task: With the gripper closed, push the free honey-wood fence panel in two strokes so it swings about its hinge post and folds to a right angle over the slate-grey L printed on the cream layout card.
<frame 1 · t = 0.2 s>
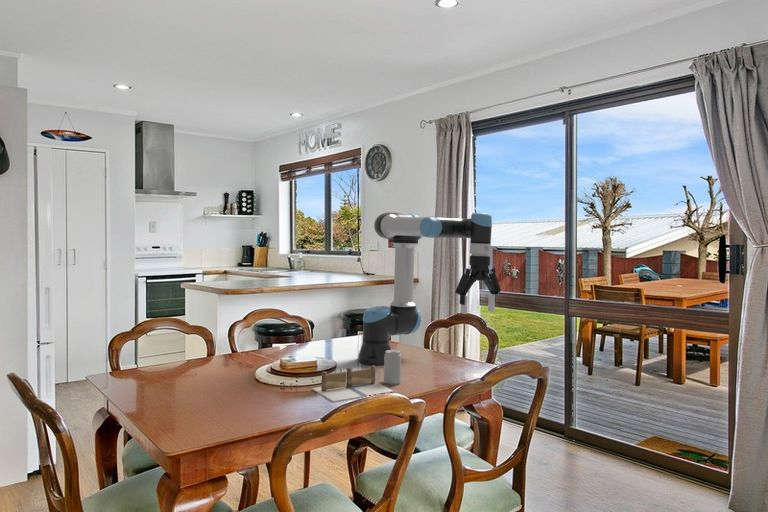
hand: (477, 312, 200), 28 cm above the table, fingers open, 13 cm apart
beverage can: (392, 383, 203), on the table
layout card: (353, 390, 192), on the table
fence panel: (333, 379, 191), point 4 cm above the table, hinge at 0.0°
fence fixed: (360, 386, 197), resting on layout card
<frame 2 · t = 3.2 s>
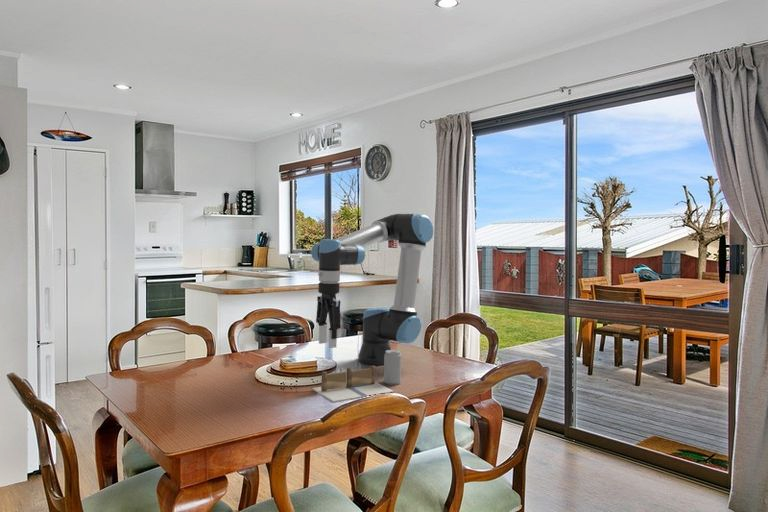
hand: (327, 345, 195), 15 cm above the table, fingers open, 7 cm apart
nothing on the table moved.
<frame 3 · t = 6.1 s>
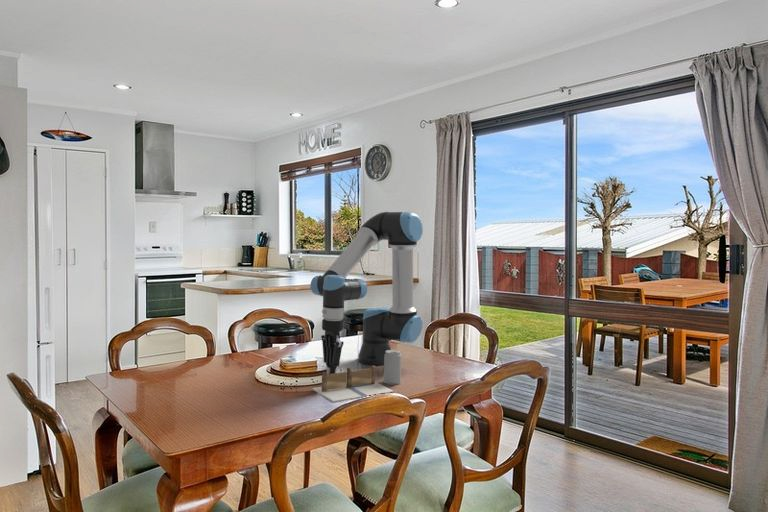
hand: (330, 384, 193), 2 cm above the table, fingers closed
fence panel: (334, 379, 191), point 4 cm above the table, hinge at 1.0°, touching gripper
everything else where it was.
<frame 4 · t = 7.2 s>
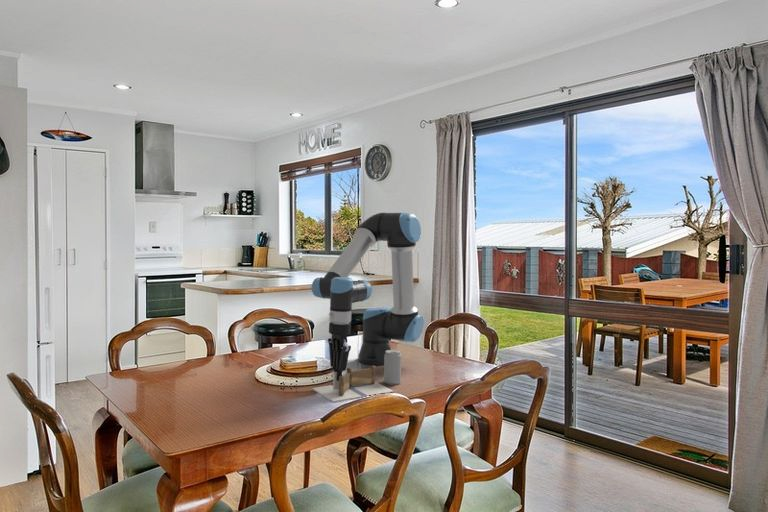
hand: (337, 388, 189), 2 cm above the table, fingers closed
fence panel: (344, 382, 188), point 4 cm above the table, hinge at 45.6°, touching gripper
everything else where it was.
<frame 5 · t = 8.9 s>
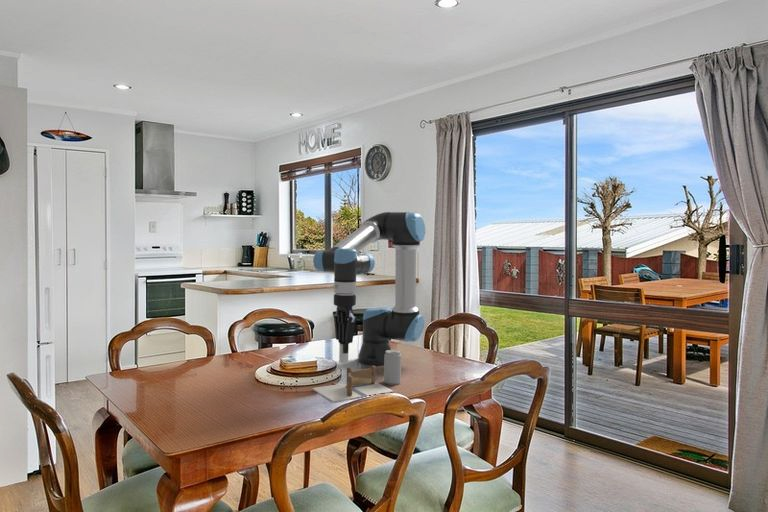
hand: (343, 361, 186), 12 cm above the table, fingers closed
fence panel: (349, 382, 188), point 4 cm above the table, hinge at 62.0°
everything else where it was.
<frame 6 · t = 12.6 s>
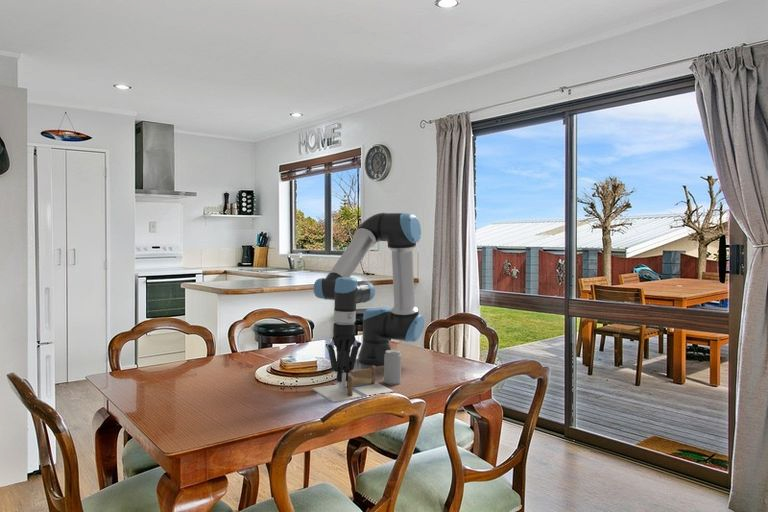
hand: (341, 390, 186), 2 cm above the table, fingers closed
fence panel: (349, 382, 188), point 4 cm above the table, hinge at 62.7°, touching gripper
everything else where it was.
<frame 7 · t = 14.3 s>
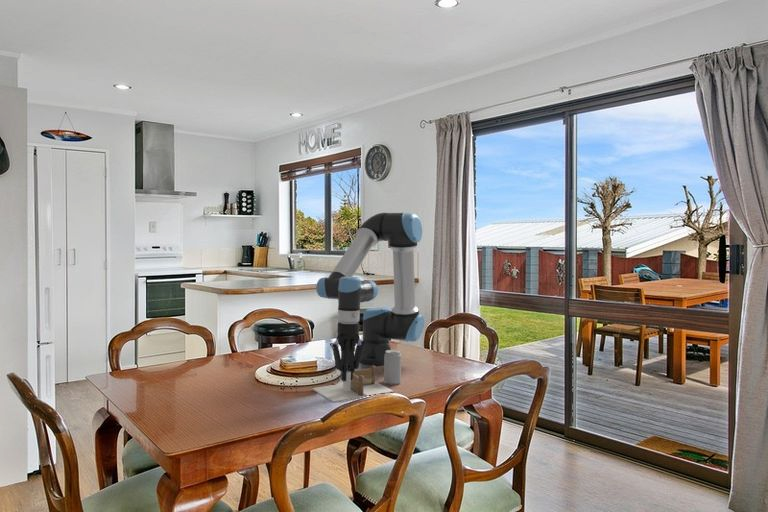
hand: (346, 389, 187), 2 cm above the table, fingers closed
fence panel: (356, 382, 189), point 4 cm above the table, hinge at 84.4°
everything else where it was.
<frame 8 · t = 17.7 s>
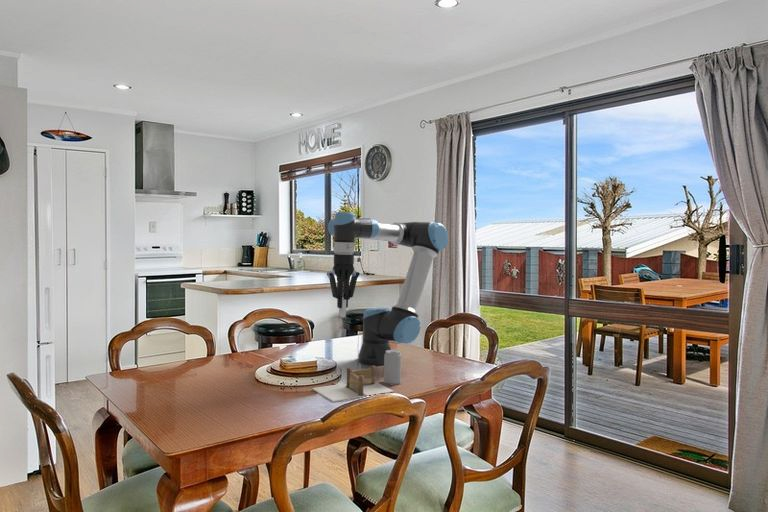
hand: (342, 316, 203), 24 cm above the table, fingers closed
nothing on the table moved.
at the end: fence panel at +84° (first picture: +0°); beverage can moved 0.2 cm from its start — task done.
